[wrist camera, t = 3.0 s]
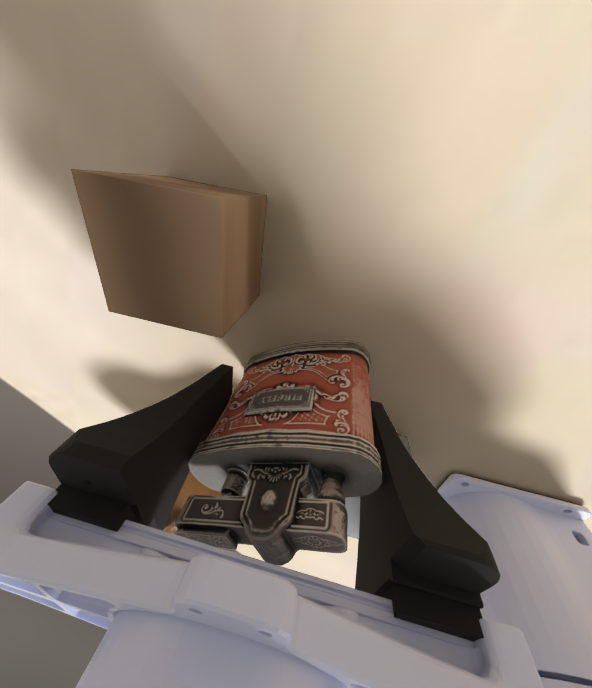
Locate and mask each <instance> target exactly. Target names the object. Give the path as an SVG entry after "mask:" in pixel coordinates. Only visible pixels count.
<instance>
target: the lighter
mask: <svg viewBox="0 0 592 688" xmlns="http://www.w3.org/2000/svg"><path fill="white" fill-rule="evenodd" d="M370 373H371V364H370V357H369V354H368V351H367V350H366V349H365V348H364V347H363V346H362V345H360V344H358V343H356V342H351V341H319V342H308V343H298V344H293V345H289V346H285V347H280V348H276V349H273V350H270V351H267V352H264V353H261V354H258V355H256V356H254V357H252V358H251V359H250V361H249V362H248V364H247V366H246V367H245V369H244V375H243V376H244V377H243V378H242V380H241V382H240V383H239V385H238V387H237V389H236V390H235V392H234V394H233V395H232V397H231V399H230V401H229V402H228V404H227V406H226V407H225V409H224V411H223V413H222V414H221V416H220V418H219V419H218V421H217V423H216V425H215V426H214V428H213V430H212V431H211V433H210V435H209V437H208V438H207V440H205V441H203V442H201V443H200V444H199V445H198V447H197V449H196V450H195V452H194V454H193V455H192V457H191V459H190V460H189V462H188V465H189V470H190V471H191V473H192V475H193V476H194V477H195V478H196V479H197V480H198V481H199V482H200V483H202V484H203V485H205V486H206V487H208V488H210V489H213V490H215V491H219V492H221V494H222V495H190V496H189V497H188V499H187V501H186V503H185V505H184V506H183V508H182V510H181V512H180V514H179V516H178V518H177V520H176V521H175V523H174V526H175V527H176V529H177V531H176V533H175V535H178V536H182V537H185V538H188V539H192V540H195V541H198V542H202V543H205V544H208V545H211V546H215V547H219V548H228V549H236V548H237V545H238V544H247V545H253V546H254V547H255V548H256V550H257V551H258V553H259V554H260V555H261V557H262V558H263V560H265V561H266V562H268V563H271V564H274V565H280V566H281V565H284V564H286V563H288V562H289V561H290V560H291V559H292V558H293V556H294V555H295V553H296V552H297V551H298V550H309V551H320V552H330V553H343V552H346V551H347V528H348V513H347V509H346V507H345V498H347V497H359V496H365V495H369V494H371V493H373V492H375V491H376V490H378V488H379V487H380V485H381V484H382V469H381V459H380V455H379V453H378V451H377V449H376V448H375V446H374V435H373V423H372V412H371V400H370V389H369V375H370ZM242 495H244V496H242Z"/></svg>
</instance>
